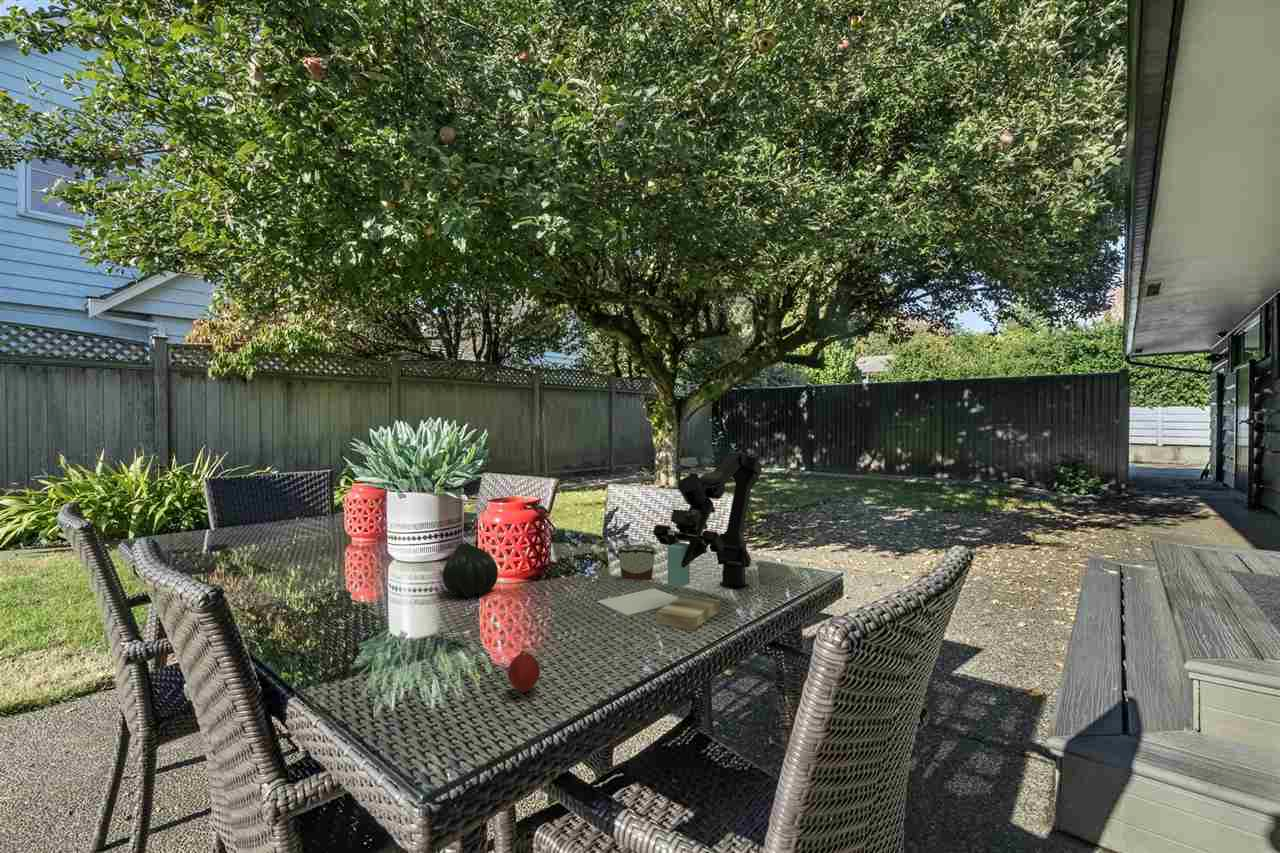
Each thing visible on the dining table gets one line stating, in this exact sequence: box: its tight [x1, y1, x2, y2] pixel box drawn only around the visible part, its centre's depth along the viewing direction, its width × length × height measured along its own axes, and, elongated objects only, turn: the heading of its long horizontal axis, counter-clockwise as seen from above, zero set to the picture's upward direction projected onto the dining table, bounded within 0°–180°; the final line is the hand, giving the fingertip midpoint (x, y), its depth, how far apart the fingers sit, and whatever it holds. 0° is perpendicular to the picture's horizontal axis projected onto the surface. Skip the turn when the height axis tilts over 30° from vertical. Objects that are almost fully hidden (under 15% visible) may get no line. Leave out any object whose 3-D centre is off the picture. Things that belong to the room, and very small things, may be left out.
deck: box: [656, 594, 720, 632], centre depth 154 cm, size 16×10×3 cm, turn 151°
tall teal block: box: [667, 542, 691, 588], centre depth 155 cm, size 5×4×10 cm
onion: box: [507, 649, 541, 693], centre depth 113 cm, size 6×6×8 cm
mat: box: [596, 588, 680, 617], centre depth 166 cm, size 20×14×1 cm
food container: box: [616, 544, 657, 581], centre depth 190 cm, size 12×6×10 cm, turn 84°
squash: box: [442, 542, 499, 598], centre depth 174 cm, size 14×15×15 cm
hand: (675, 565), depth 154 cm, fingers closed on tall teal block, 3 cm apart
